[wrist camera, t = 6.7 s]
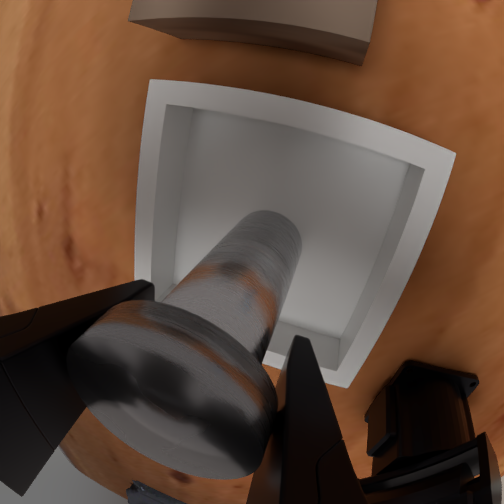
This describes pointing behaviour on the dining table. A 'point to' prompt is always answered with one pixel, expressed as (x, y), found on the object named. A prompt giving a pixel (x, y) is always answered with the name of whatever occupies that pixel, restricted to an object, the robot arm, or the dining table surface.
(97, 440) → the dining table surface
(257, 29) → the block
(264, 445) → the lock pin
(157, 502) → the grey stepped plate
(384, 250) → the tray
